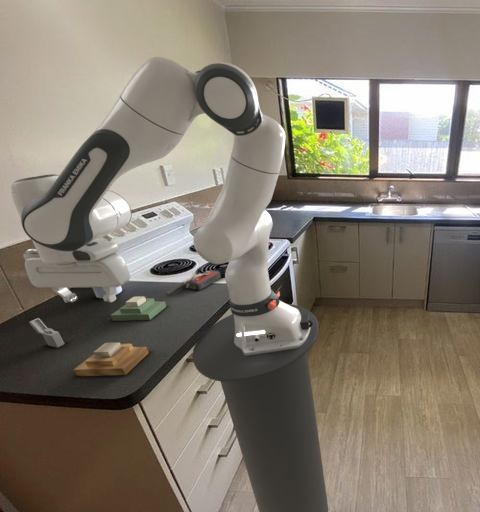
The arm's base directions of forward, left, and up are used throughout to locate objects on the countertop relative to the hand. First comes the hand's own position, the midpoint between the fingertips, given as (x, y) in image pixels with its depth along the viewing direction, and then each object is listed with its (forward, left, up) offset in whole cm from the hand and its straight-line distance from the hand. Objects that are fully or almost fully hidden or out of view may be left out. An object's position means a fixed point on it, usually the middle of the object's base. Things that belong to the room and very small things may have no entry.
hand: (91, 301), depth 70 cm
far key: (+10, -22, -15) cm, 29 cm away
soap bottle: (+32, -36, -18) cm, 52 cm away
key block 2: (-1, +2, -18) cm, 18 cm away
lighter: (+24, -7, -18) cm, 32 cm away
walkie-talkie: (+2, -41, -18) cm, 45 cm away
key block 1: (+10, -22, -18) cm, 31 cm away
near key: (-1, +2, -15) cm, 15 cm away
